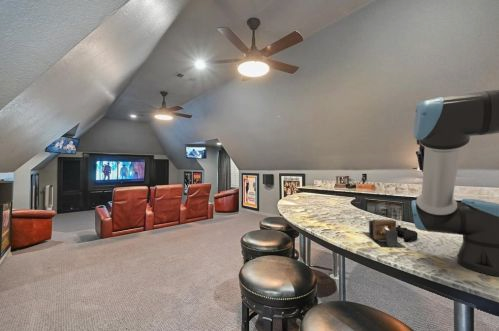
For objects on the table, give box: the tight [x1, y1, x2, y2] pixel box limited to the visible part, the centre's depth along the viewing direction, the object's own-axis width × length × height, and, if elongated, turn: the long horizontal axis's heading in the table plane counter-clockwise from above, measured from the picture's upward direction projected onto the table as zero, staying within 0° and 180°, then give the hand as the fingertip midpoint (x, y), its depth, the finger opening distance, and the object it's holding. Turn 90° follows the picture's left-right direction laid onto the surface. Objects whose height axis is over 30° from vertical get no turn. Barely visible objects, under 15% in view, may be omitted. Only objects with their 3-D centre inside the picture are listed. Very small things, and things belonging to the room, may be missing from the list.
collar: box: [372, 219, 397, 240], centre depth 105 cm, size 3×9×9 cm, turn 83°
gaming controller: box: [396, 224, 419, 243], centre depth 110 cm, size 14×6×10 cm
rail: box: [362, 219, 406, 249], centre depth 108 cm, size 21×10×7 cm, turn 173°
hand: (427, 185), depth 103 cm, fingers closed
